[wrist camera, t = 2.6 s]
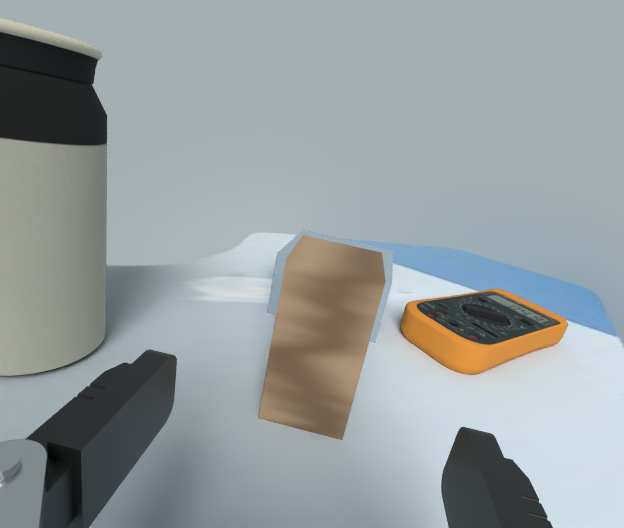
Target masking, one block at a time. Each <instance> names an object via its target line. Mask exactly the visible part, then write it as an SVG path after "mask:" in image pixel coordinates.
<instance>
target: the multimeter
mask: <svg viewBox="0 0 624 528" xmlns="http://www.w3.org/2000/svg"><path fill="white" fill-rule="evenodd" d="M567 326H568V323H567V322H566V320H565V319H564V318H562V317H561V316H559V315H557V314H555V313H553V312H551V311H548V310H546V309H544V308H542V307H540V306H538V305H535V304H533V303H531V302H529V301H527V300H524V299H522V298H520V297H518V296H516V295H514V294H511V293H509V292H507V291H504V290H501V289H491V290H485V291H480V292H475V293H468V294H462V295H455V296H449V297H441V298H433V299H425V300H417V301H412V302H409V303H408V304H407V305H406V307H405V310H404V313H403V317H402V320H401V330H402V332H403V334H404V336H405V337H406V338H407V339H408V340H409V341H410V342H411V343H413V344H414V345H416V346H417V347H418V348H420V349H421V350H423V351H424V352H425V353H427V354H428V355H430V356H431V357H432V358H434V359H435V360H437V361H438V362H439V363H441V364H442V365H444V366H446V367H447V368H449V369H451V370H454V371H456V372H460V373H463V374H471V375H473V374H479V373H481V372H483V371H485V370H488V369H490V368H492V367H494V366H497V365H499V364H501V363H504V362H506V361H508V360H511V359H513V358H516V357H519V356H521V355H524V354H527V353H530V352H532V351H535V350H538V349H542V348H545V347H549V346H553V345H555V344H557V343H558V342H559V341H560V340H561V339H562V337H563V335H564V333H565V331H566V328H567Z"/></svg>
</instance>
